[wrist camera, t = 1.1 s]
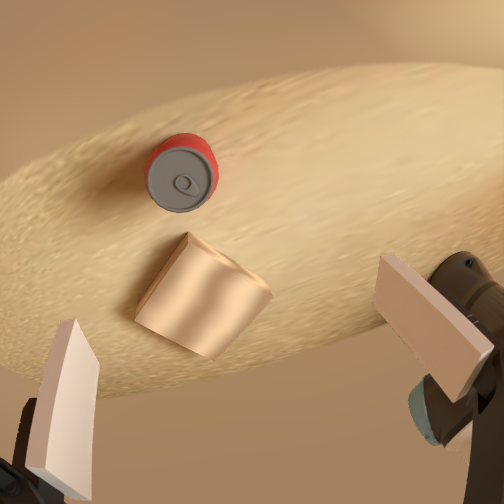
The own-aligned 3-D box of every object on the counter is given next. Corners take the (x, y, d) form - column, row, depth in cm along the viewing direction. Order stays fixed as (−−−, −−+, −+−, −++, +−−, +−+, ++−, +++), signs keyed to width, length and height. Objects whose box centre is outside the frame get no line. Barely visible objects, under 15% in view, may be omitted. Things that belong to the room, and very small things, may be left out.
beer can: (188, 198, 37) (185, 234, 26) (146, 164, 35) (124, 186, 24) (224, 157, 36) (237, 175, 25) (182, 121, 33) (176, 123, 23)
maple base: (267, 282, 44) (273, 297, 40) (212, 343, 47) (214, 361, 43) (188, 231, 39) (187, 244, 35) (137, 303, 42) (133, 320, 38)
